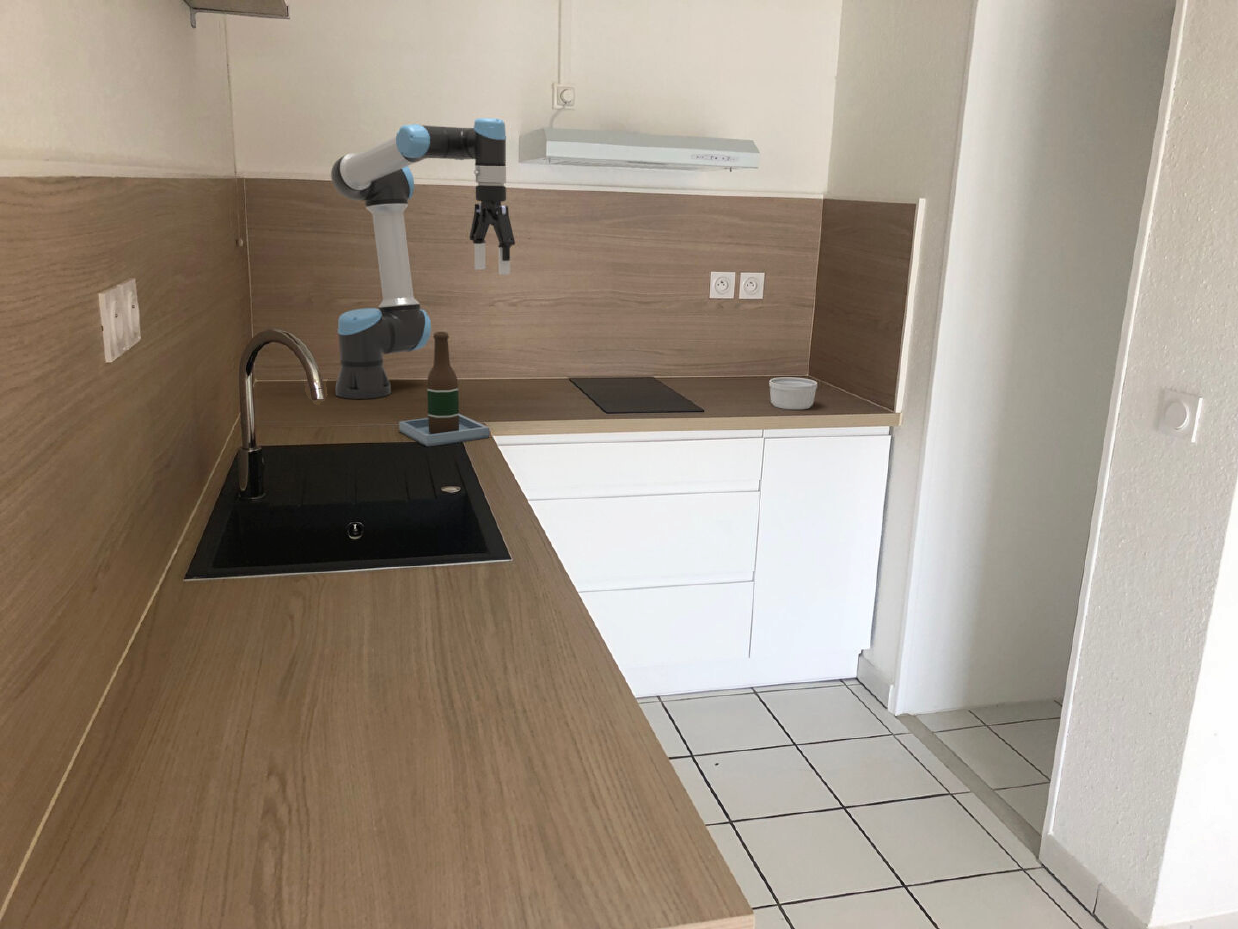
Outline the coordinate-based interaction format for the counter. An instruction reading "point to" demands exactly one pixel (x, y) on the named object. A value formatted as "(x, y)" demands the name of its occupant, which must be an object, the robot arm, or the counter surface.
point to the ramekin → (792, 392)
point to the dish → (421, 433)
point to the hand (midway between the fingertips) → (492, 271)
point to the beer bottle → (442, 390)
